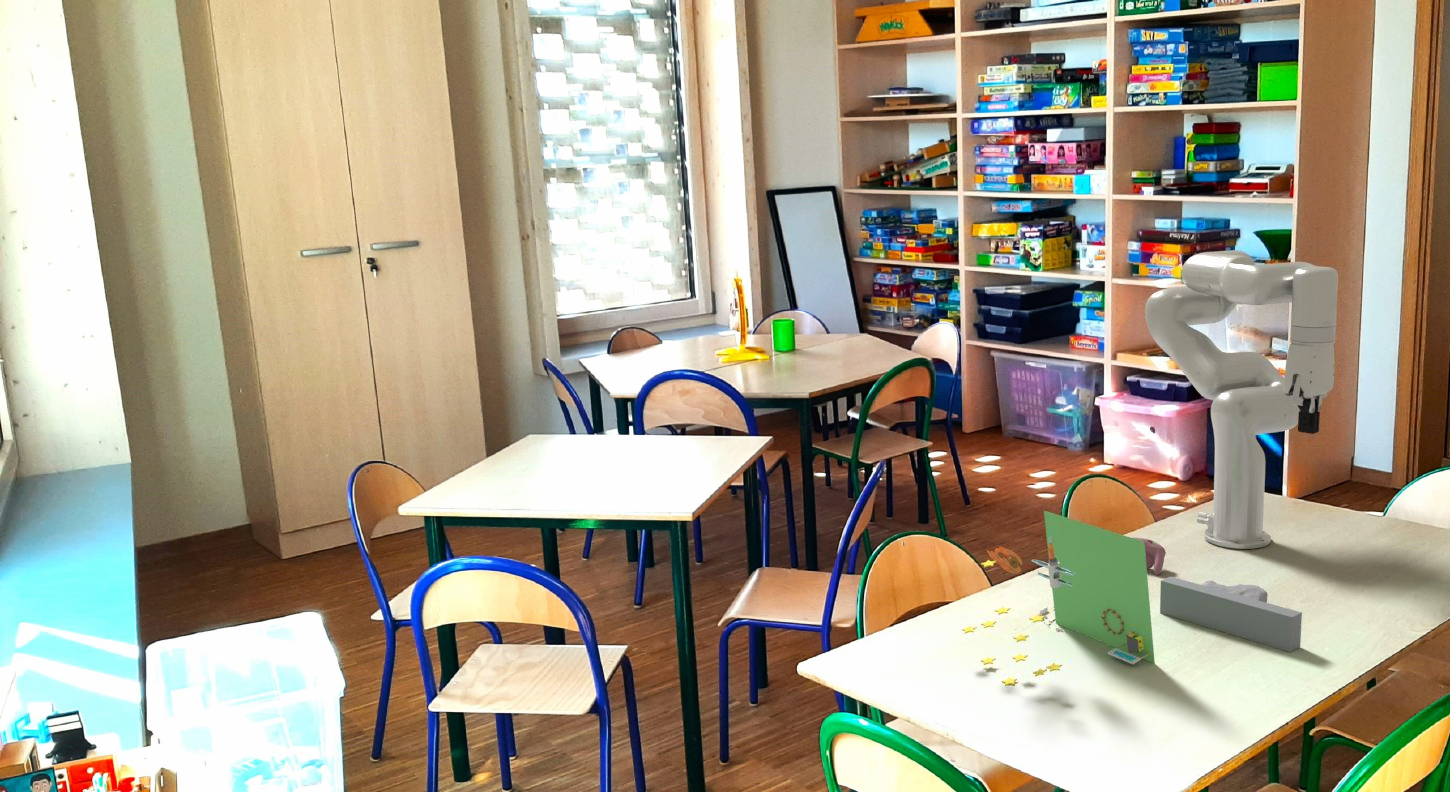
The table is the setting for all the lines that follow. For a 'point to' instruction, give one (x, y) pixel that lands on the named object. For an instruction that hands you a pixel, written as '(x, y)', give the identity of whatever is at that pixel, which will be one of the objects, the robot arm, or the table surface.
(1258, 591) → the stone block
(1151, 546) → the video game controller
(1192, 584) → the board
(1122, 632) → the toy game set
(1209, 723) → the table surface
